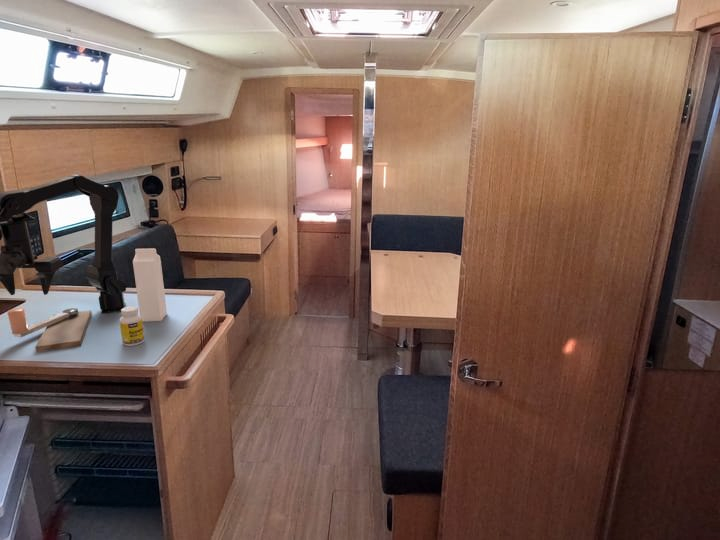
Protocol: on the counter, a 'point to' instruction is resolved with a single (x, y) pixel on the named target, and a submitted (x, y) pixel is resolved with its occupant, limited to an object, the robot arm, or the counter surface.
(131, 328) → the supplement bottle
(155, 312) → the milk
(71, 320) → the light wooden base
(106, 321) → the counter surface
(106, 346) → the counter surface
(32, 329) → the lever
